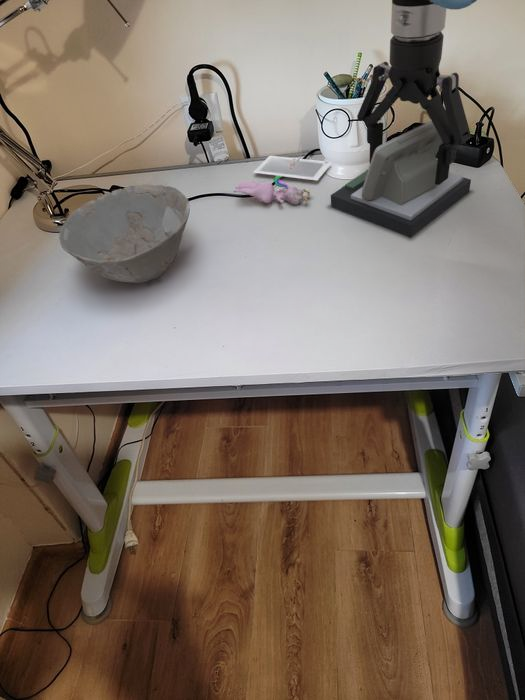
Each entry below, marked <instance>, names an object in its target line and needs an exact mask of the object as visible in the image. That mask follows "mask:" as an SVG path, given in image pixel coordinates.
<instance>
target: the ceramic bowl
mask: <svg viewBox="0 0 525 700" xmlns="http://www.w3.org/2000/svg"><path fill="white" fill-rule="evenodd" d="M190 211H191V206H190V201H189V199H188V198H187V196H186V195H185V194H184V193H182V192H181V191H180V190H179V189H177V188H176V187H174V186H169V185H165V186H164V185H162V184H160V185H159V184H157V185H155V184H137V185H130V186H127V187H126V186H125V187H123V188H118V189H114V190H112V191H111V192H106V193H104V194H101V195H99V196H97V197H96V199H95V198H94V199H92V200H89V201H87V202H86V203H84V204H82V206H79V208H76V209H75V210H74V211H73V212H72V213H71V214H70V215H69V216H68V217H67V218H66V219H65V221H64V222H63V224H62V226H61V228H60V230H59V233H58V240H59V244H60V247H61V248H62V250H63V251H65V252H66V253H68V254H69V255H71V256H72V257H74V258H75V259H76V260H77V261H79V262H80V263H81V264H83V265H84V266H86V267H88V268H89V269H90V270H92V271H94V272H96V273H97V274H99V275H100V276H103V277H105V278H107V279H109V280H111V281H115V282H125V283H134V284H142V283H146V282H148V281H152V280H155V279H157V278H159V277H161V276H162V275H164V273H165V272H166V271H167V270H168V268H169V267H170V265H171V264H172V262H173V261H174V260H175V258H176V256H177V254H178V252H179V249H180V246H181V242H182V238H183V233H184V231H185V229H186V225H187V223H188V220H189V216H190Z"/></svg>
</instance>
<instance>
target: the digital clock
mask: <svg viewBox="0 0 525 700" xmlns="http://www.w3.org/2000/svg"><path fill="white" fill-rule="evenodd" d="M441 144H443V141H442V139H441V137H440V135H439V134H438V132H437V130H436V128H435V126H434V124H433V123H432V121H431V120H430V121H427V122H426V123H424V124H421V125H419V126H417V127H415V128H413V129H411V130H409V131H407V132H404V133H402V134H400V135H398V136H396V137H394V138H392V139H390V140H388V141H386V142H383V144H382V145H380V146H378V147H377V148H376V149H375V151H374V154H373V157H372V160H371V163H370V162H369V166H368V169H367V170H368V172H367V175H366V178H365V182H364V185H363V188H362V198H363V199H365V200H373V199H375V198H377V197H379V196H382V197H384V198H386V199H388V200H390V201H392V202H394V203H397V204H399V205H402V204H404V203H406V202H408V201H410V200H411V199H413V198H415V197H417V196H419V195H421V194H423V193H424V192H426V191H428V190H430V189H432V188H434V187H436V186H437V184H435V178H436V169H437V160H438V158H437V157H436V156H437V155H438V152H439V146H440V145H441Z"/></svg>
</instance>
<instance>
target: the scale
mask: <svg viewBox="0 0 525 700" xmlns="http://www.w3.org/2000/svg"><path fill="white" fill-rule="evenodd" d="M367 172H368V169H366V170H365V171H364V172H362V173H360V174H358V175H357V176H356V177H354V178H353V179H351V180H350V181H348V182H347V183H345V184H344V185H343V186H342V187H341V188H339V189H338V190H336V191H335V192H332V194H330V207H331V208H333V209H336V210H338V211H340V212H343V213H346V214H348V215H351V216H354V217H357V218H358V219H361V220H363V221H367V222H370V223H372V224H374V225H377V226H380V227H382V228H385V229H386V230H390V231H392V232H395V233H398V234H400V235H403V236H405V237H408V238H410V239H411V238H413V237H414V236H415V235H417V234H418V233H419V232H420V231H422V230H423V229H424V228H426V227H427V226H428V225H429V224H430V223H433V221H434V220H436V219H437V218H438V217H439V216H440V215H442V214H443V213H445V212H446V211H447V210H448V209H449V208H451V207H452V206H453V205H454V204H456V203H458V202H459V201H460V200H461V199H463V197H465V196H466V195H467V194H468V193H470V189H471V183H472V179H470V178H467V177H464V175H461V174H457V173H453V172H450V171H449V174H448V179H446V180H445V181H444V182H442V183H441V184H440V185H437V186H436V187H434V188H432V189H430V190H428V191H426V192H424V193H423V194H421V195H419V196H417V197H415V198H413V199H411V200H410V201H408V202H406V203H404V204H402V205H399V204H397V203H394V202H392V201H390V200H388V199H386V198H384V197H382V196H379V197H377V198H375V199H373V200H365V199H363V198H362V188H363V185H364V182H365V178H366V175H367Z"/></svg>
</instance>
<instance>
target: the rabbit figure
mask: <svg viewBox="0 0 525 700" xmlns="http://www.w3.org/2000/svg"><path fill="white" fill-rule="evenodd" d="M281 178H283V176H277V175H275V177H274V178H273V183H274V184H275V186H276V187H278V188H280V189H279V190H275V187H274V185H273V184H272V183H270V182H268V181H261V182H255V181H249V180H248V181H243V182H241V183H239V184H237V185H236V186H234V190H233V193H242V194H245V195H248V196H251V197H254V198H256V200H258V201H259V202H262V203H263V204H264V203H265V204H270V203H271V202H273V201H275V199H277V201H278V202H279V203H281V204H284V202H285V201H287V202H288V203H290V204H292V205H294V206H296V205H300V203H301V201H302V200H305V205H306V206H308V200H309V198H310V195H311V192H310V191H311V190H310V189H308V190H306V189H305V188H303V189H299V188H298V187H296V186H290V185H289V184H288V183H287V182H285V181H284V180H282V179H281ZM304 193H306V194H307V196H306V197H305V196H303V195H304Z"/></svg>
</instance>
